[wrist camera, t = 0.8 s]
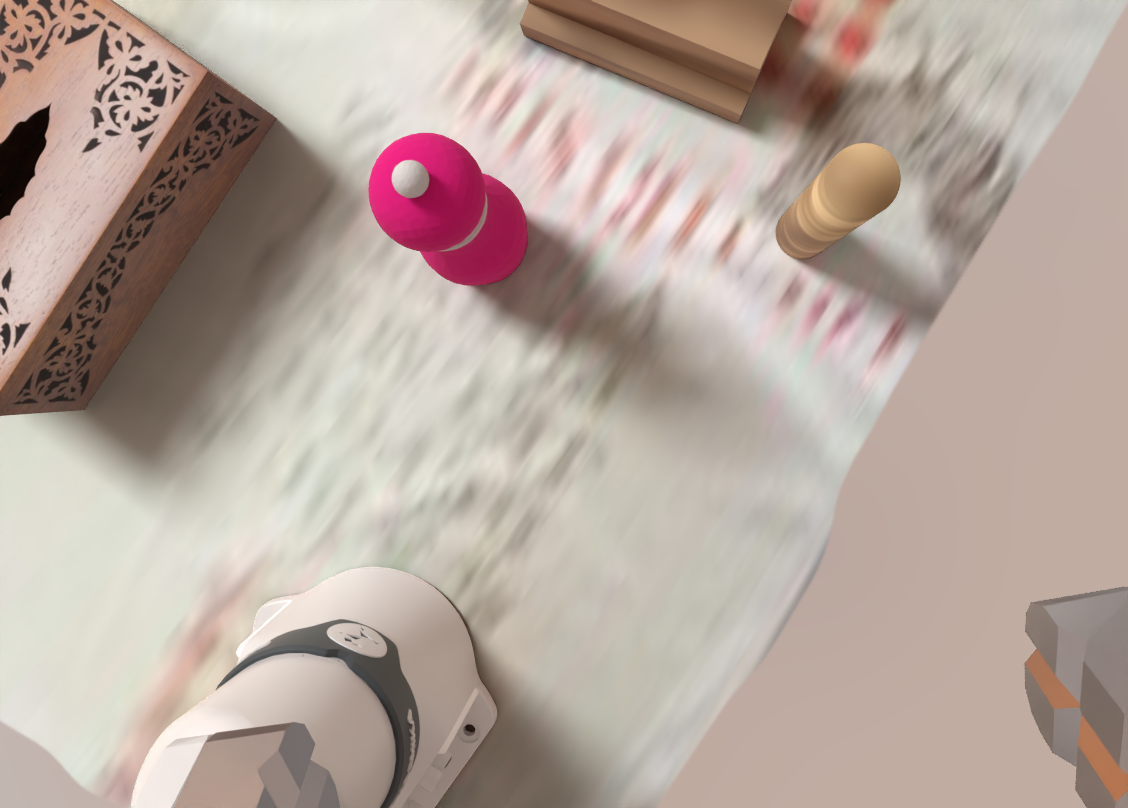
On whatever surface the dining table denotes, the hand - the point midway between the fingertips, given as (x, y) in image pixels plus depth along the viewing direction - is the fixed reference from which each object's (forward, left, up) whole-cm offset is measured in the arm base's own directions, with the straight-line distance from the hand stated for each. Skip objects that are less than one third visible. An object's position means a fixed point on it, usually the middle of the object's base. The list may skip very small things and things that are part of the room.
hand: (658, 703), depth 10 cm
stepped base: (+25, +11, -50) cm, 57 cm away
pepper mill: (+7, +16, -50) cm, 53 cm away
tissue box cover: (-2, +43, -51) cm, 66 cm away
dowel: (+16, -4, -50) cm, 53 cm away
